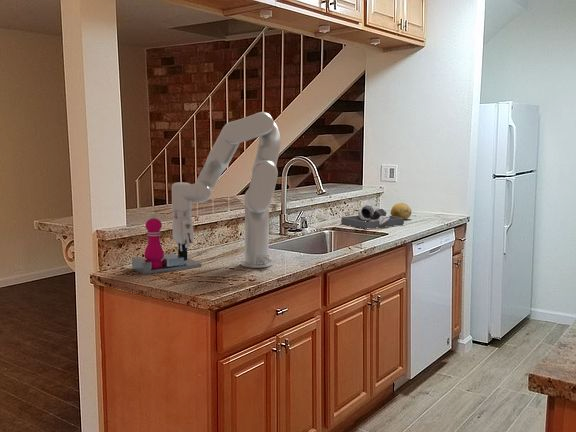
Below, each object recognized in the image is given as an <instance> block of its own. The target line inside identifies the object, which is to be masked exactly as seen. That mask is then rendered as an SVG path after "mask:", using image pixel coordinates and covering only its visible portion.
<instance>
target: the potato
mask: <svg viewBox="0 0 576 432" xmlns="http://www.w3.org/2000/svg"><path fill="white" fill-rule="evenodd" d="M390 216H395V217H400V218H404V220H407V219H409V218H410V217H411V216H412V209H411V207H410V206H409V205H408V204H406V203H401V202H400V203H396V204H395V205H393V206H392V207H391V209H390Z"/></svg>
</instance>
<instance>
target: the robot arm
mask: <svg viewBox="0 0 576 432" xmlns="http://www.w3.org/2000/svg"><path fill="white" fill-rule="evenodd" d="M256 138H258V146H257V151H256V154H255V159H254V162H253V165H252V168H251V178H250V182H249V186H248V189H247V190H246V191H245V193H244V259H242V260H241V261H240V265H241V266H242V267H244V268H245V267H246V268H251V269H260V268H261V269H262V268H269V267H271V266H272V265H273V260H272V259H270V254H269V246H270V245H269V242H270V241H269V240H270V239H269V237H270V233H269V232H270V230H269V229H270V209H269V208H270V206H271V204H272V201H273V200H272V199H273V196H274V193H275V189H276V186H277V185H276V184H277V182H278V181H277V180H278V176H279V172H278V167H277V165H278V164H277V163H278V159H279V156H280V150H281V149H280V148H281V145H282V139H281V133H280V129H279V128H278V125H277V123H276V122H275V121H274V119H273V117H272V116H271V114H270V113H268V112H266V111H260V112H256V113H254V114H251V115H249V116H248V115H247V116H245V117H243V118H239V119H237V120H232V121H228V122H227V123H225V124H224V126H222V129H221V131H220V133H219V134H218V136H217V138H216V140H215V142H214V144H213V146H212V147H211V150H210V151H209V154H208V155H207V157H206V161H205V163H204V164H203V167H202V169H201V171H200V173H199V175H198V177H197V179H196V180H195V183H190V182H183V181H181V182H178V181H177V182H174V183H173V184H172V185H171V214H172V215H171V216H172V217H171V218H172V240H173V241H174V242H175V244H176V246H177V247H176V248H177V255H179V256H182V257H184V261H186V260H187V259H188V250H189V248H191V245H190V244H194V242H195V238H194V236H195V235H194V224H193V217H192V216H193V213H192V212H193V210H192V208H193V203H192V202H196V203H205V202H207V201H208V200H209V199H210V198H211V196H212V192H213V191H214V188H215V187H216V184H218V183H217V182H218V181H219V179H220V177H221V175H222V173H224V171H225V170H226V169H227V168H228V166H229V164H230V163H231V161H232V160H233V157H234V155H235V153H236V151H237V149H239V146H240V144H241V143H243V142H248V141H250V140H253V139H256Z"/></svg>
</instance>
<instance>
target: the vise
mask: <svg viewBox="0 0 576 432" xmlns="http://www.w3.org/2000/svg"><path fill="white" fill-rule="evenodd" d="M200 267H201V268H202V267H203V264H202V263H201V262H199V261H196V260H195V259H192V258H190V257H189V258H188V257H187V260H186V261H184V265H177V266H170V267H167V266H165V265H163V266H162V267H159V268H151V262H150V261H148V260H146V258H145V257H141V256H133V257H131V269H132V270H134V271H135V272H138V273H140V274H141V275H143V276H144V275H151V274H159V273H165V272H166V273H167V272H173V271H181V270H189V269H195V268H200Z"/></svg>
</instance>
